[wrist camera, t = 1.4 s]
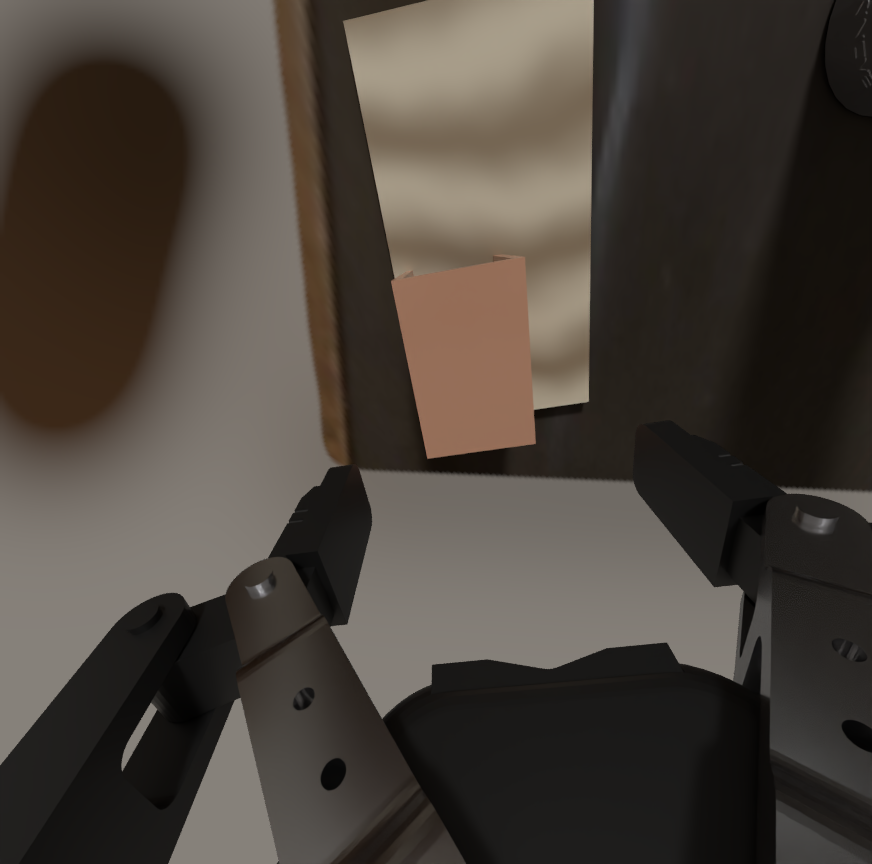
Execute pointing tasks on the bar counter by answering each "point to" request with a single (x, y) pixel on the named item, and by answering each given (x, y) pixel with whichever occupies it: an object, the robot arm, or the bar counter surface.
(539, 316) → the birch mat
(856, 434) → the bar counter surface
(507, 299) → the terracotta cover
